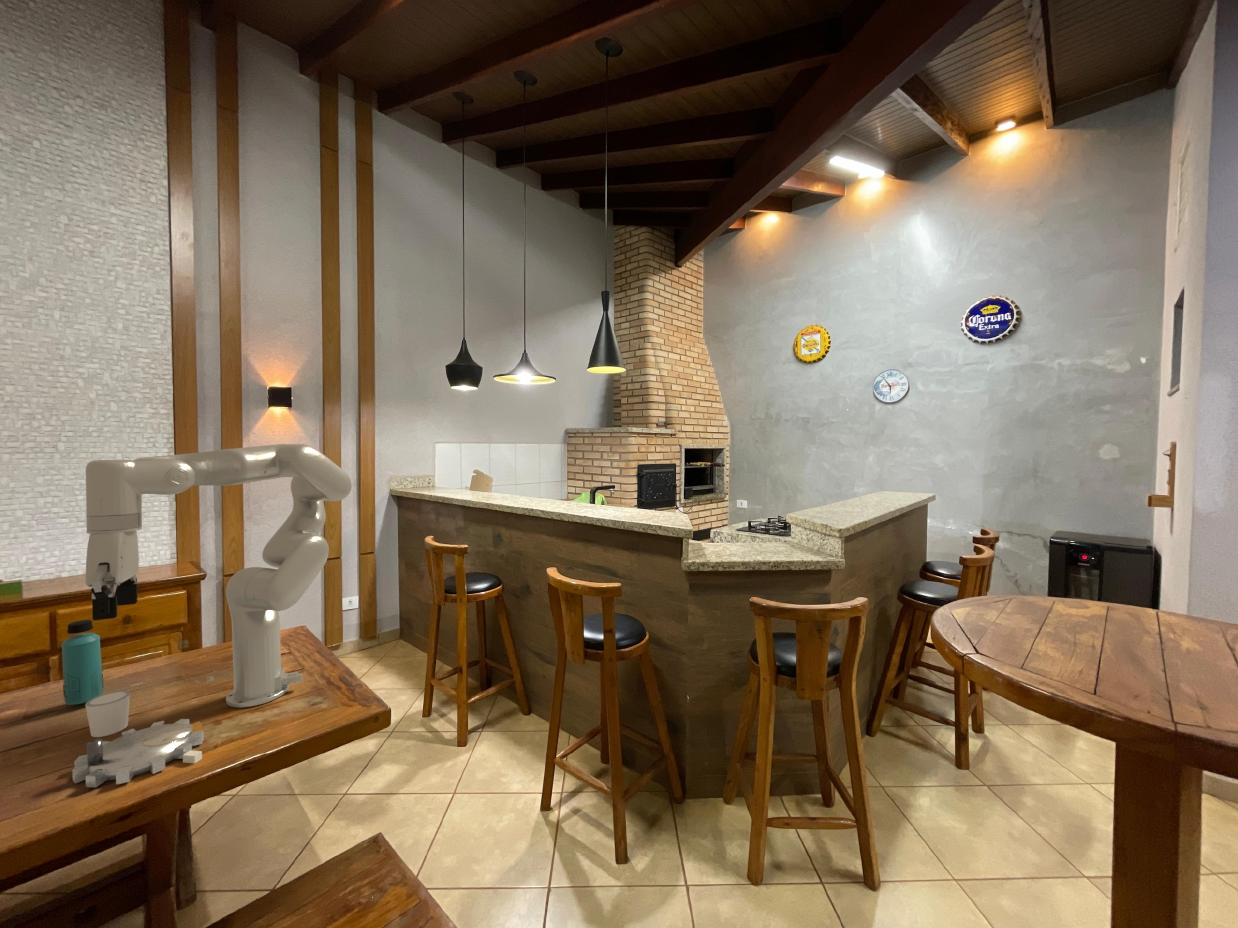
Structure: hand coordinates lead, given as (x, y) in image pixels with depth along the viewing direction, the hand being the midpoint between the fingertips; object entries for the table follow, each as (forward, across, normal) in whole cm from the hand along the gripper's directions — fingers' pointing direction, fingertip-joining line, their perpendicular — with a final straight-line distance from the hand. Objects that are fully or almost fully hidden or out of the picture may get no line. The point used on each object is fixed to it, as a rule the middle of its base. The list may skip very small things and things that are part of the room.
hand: (116, 611), depth 96 cm
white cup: (+30, -16, -6) cm, 34 cm away
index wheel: (+29, 0, +4) cm, 30 cm away
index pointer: (+29, +7, +13) cm, 33 cm away
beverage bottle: (+30, -33, -16) cm, 47 cm away
